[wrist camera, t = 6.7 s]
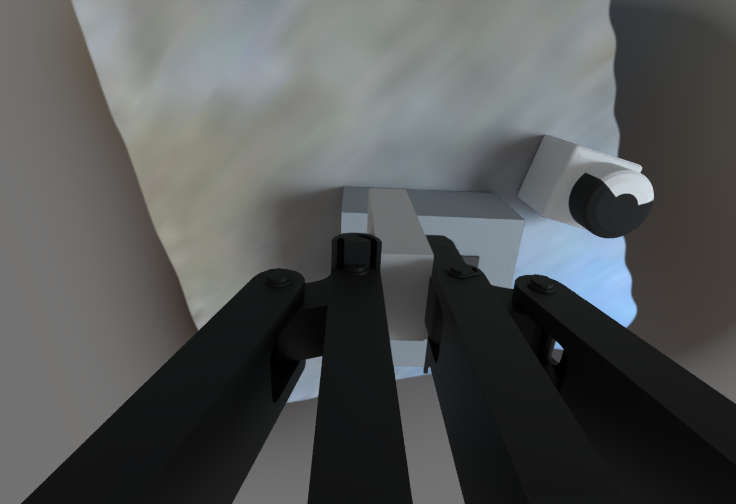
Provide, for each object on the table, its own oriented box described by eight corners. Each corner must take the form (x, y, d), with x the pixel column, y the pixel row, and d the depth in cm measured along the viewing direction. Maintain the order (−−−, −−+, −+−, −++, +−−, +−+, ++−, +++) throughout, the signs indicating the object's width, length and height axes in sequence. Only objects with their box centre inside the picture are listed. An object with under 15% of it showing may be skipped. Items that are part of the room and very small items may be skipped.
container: (572, 213, 52) (637, 256, 40) (515, 196, 51) (565, 235, 39) (603, 153, 49) (683, 179, 37) (543, 133, 48) (606, 154, 36)
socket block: (343, 186, 50) (341, 213, 40) (493, 193, 51) (526, 221, 41) (339, 317, 57) (336, 367, 47) (471, 320, 58) (494, 370, 48)
